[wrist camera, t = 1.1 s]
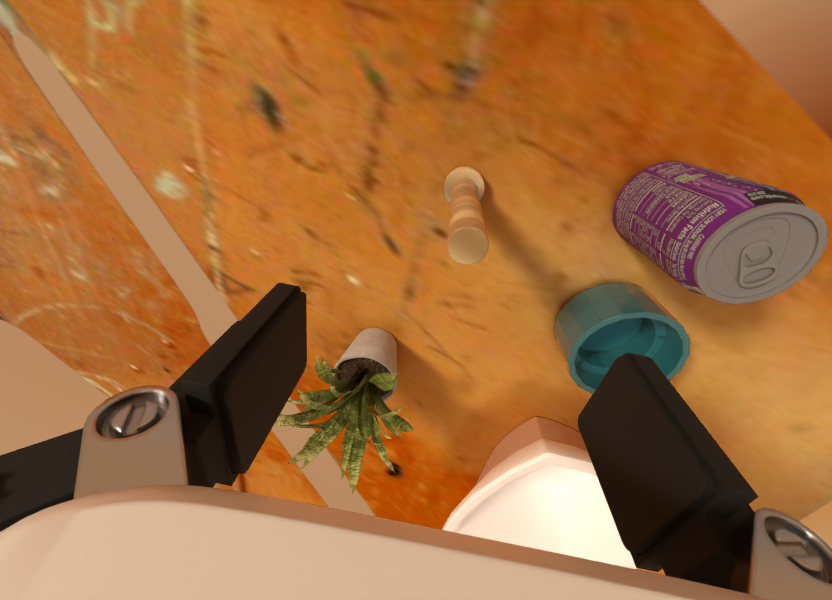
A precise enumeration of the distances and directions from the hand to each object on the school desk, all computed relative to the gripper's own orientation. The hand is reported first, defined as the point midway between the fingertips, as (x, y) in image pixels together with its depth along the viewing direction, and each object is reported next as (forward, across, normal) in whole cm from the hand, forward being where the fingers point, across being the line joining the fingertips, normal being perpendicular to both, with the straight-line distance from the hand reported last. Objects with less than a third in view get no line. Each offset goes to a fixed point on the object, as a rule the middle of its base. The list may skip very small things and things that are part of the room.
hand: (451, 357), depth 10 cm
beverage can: (+24, -17, -2) cm, 29 cm away
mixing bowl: (+24, -19, +11) cm, 32 cm away
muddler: (+24, -1, 0) cm, 24 cm away
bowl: (+24, -21, +34) cm, 46 cm away
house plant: (+24, +5, +19) cm, 31 cm away
